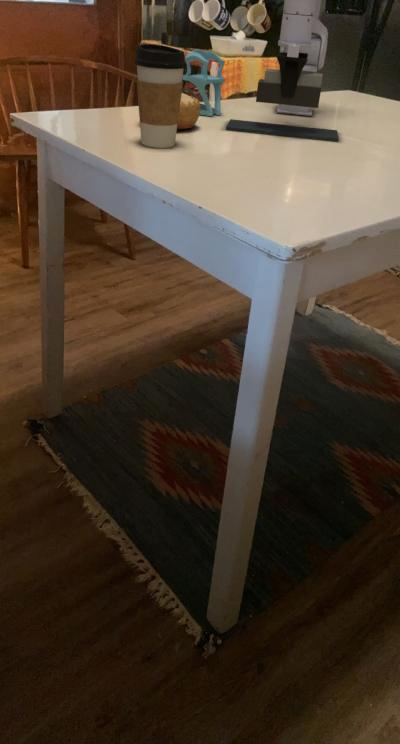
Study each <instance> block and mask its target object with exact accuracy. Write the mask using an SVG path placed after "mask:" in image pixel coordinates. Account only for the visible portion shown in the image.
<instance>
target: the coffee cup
mask: <svg viewBox="0 0 400 744" xmlns="http://www.w3.org/2000/svg"><path fill="white" fill-rule="evenodd" d="M185 57H186V56H185V51H183V50H181V49H178V48H174V47H171V46H168V45H163V44H156V43H155V44H154V43H141V44H137V48H136V55H135V57H134V65H135V66H136V70H137V72H136V73H137V78H136V87H137V88H136V90H137V102H138V103H137V104H138V115H139V116H138V117H139V127H140V130H139V131H140V143H141V144H142V145H143V146H145V147H149V148H155V149H169V148H173V147H174V146H176V139H177V131H178V129H177V123H178V117H179V109H180V102H181V95H182V93H183V86H184V80H182V79H183V75H184V69H187V64H186V59H185Z"/></svg>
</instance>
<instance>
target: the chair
mask: <svg viewBox="0 0 400 744" xmlns="http://www.w3.org/2000/svg"><path fill="white" fill-rule="evenodd" d="M184 57H185V62H186V64H185V65H186V73H185V74H183V77H182V81H185V82H189V83H191V84H193V85H194V86H195V87H196V88H197V90H198V92H199V94H200V96H201V98H202V100H203V103H200V114H199V116H200V115H201V116H206V117H214V115H216V116H221V114H222V113H221V112H222V111H221V101H222V100H221V97H222V95H221V94H222V86H223V84H224V83H226V77H223V75H222V72H223V71H222V70H223V68H224V65H225V62H226V60H225V59H222V58H221V57H220V56H219V55H218V54H216V53H214V52H213V51H205V50H202V49H199V48H198V49H194V50H192V51H190V52H188V53H187V54H186V55H185V56H184ZM210 60H214V61H216V62H218V64H219V67H218V69H217V76H213V75H210V74H208V72H209V71H208V70H209V65H210ZM194 61H198V62H200V64H201V69H200V73H197V74H196V73H195V74H191V73H192V68H191V64H190V63H191V62H194ZM211 84H212V86H213V89H214V107H212V105H211V103H210V100H209V97H208V95H207V91H206V86H207V85H211Z"/></svg>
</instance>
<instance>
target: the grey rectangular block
mask: <svg viewBox="0 0 400 744" xmlns="http://www.w3.org/2000/svg"><path fill="white" fill-rule="evenodd" d="M322 85H323V73H318V72H316V73H308V72H301V74H300V76H299V79H298V83H297V86H296V90H295V93H294V95H293V98H286V97H282V94H281V72H280V69H277V68H266V69H265V71H264V79H263V78H259V80H258V81H257V87H256V88H257V89H256V97H255V98H256V99H255V102H256V103H263V104H264V103H265V104H273V105H278V104H282V105H292V106H302V107H312V109H319V105H320V99H321V93H322Z"/></svg>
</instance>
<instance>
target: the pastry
mask: <svg viewBox="0 0 400 744" xmlns="http://www.w3.org/2000/svg"><path fill="white" fill-rule="evenodd" d="M200 104H201V102H200V100H199V98H197V97H196V96H192V97H191V95H189V94H186V93H183V92H182V95H181V102H180V109H179V117H178V123H177V130H184V129H190V128H193V127H194V126H195V125H196V124H197V122H198V120H199V117H200V109H201V108H200Z"/></svg>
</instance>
